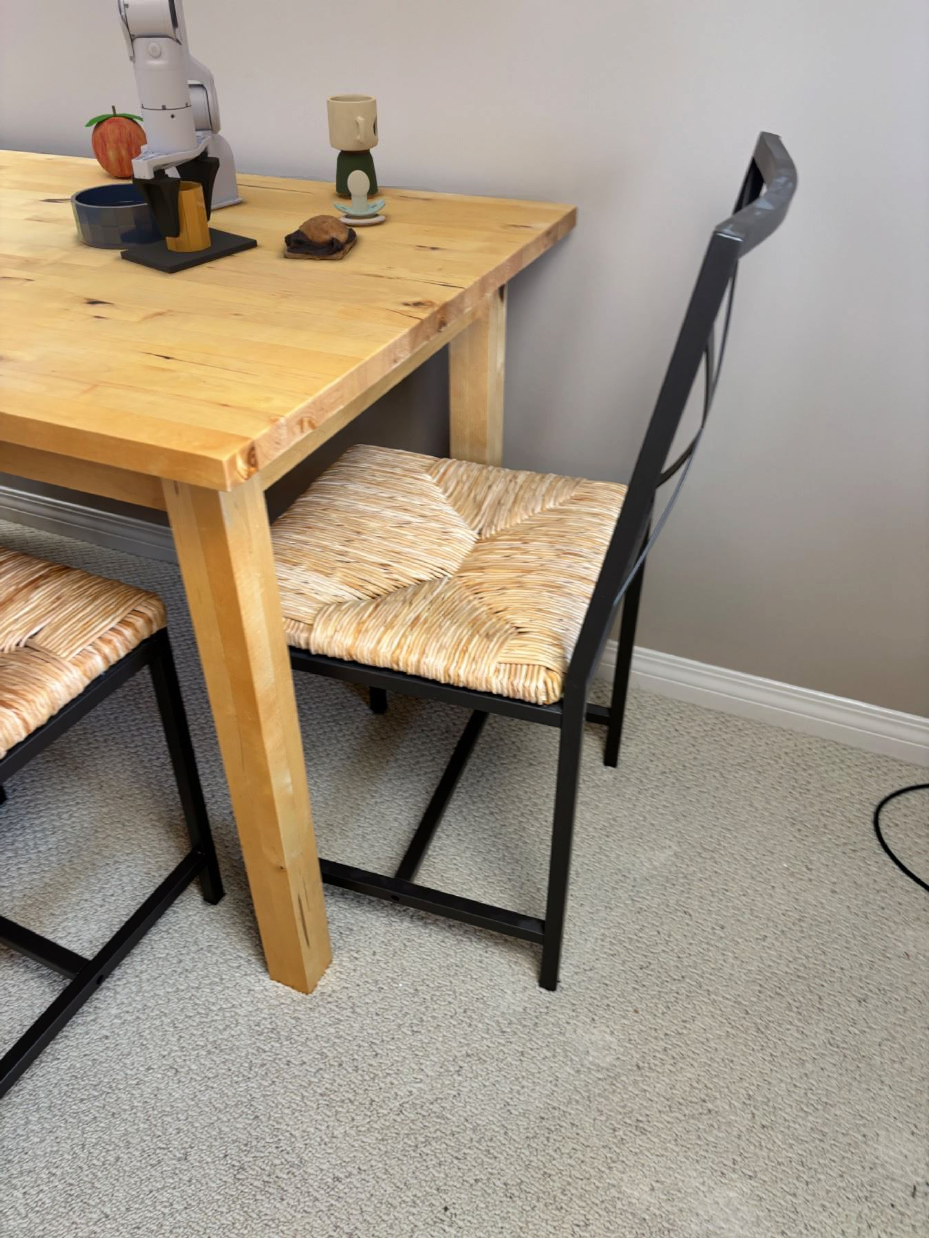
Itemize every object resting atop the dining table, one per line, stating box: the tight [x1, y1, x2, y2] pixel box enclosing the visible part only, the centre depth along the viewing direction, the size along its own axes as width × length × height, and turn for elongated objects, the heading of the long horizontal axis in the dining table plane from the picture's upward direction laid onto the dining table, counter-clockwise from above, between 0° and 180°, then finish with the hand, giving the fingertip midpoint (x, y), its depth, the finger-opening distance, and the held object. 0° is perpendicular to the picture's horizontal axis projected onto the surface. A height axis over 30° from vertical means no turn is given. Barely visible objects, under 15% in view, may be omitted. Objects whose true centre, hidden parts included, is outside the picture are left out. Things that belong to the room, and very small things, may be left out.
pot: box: [70, 182, 166, 250], centre depth 123 cm, size 13×13×5 cm
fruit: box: [84, 105, 147, 178], centre depth 147 cm, size 9×10×10 cm
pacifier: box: [332, 170, 387, 226], centre depth 128 cm, size 7×6×6 cm
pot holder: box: [119, 226, 258, 274], centre depth 119 cm, size 14×10×1 cm
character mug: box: [326, 93, 379, 196], centre depth 137 cm, size 11×7×13 cm, turn 22°
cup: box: [166, 181, 211, 252], centre depth 116 cm, size 5×6×7 cm
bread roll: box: [283, 214, 358, 261], centre depth 120 cm, size 11×8×4 cm
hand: (186, 228), depth 117 cm, fingers open, 7 cm apart
